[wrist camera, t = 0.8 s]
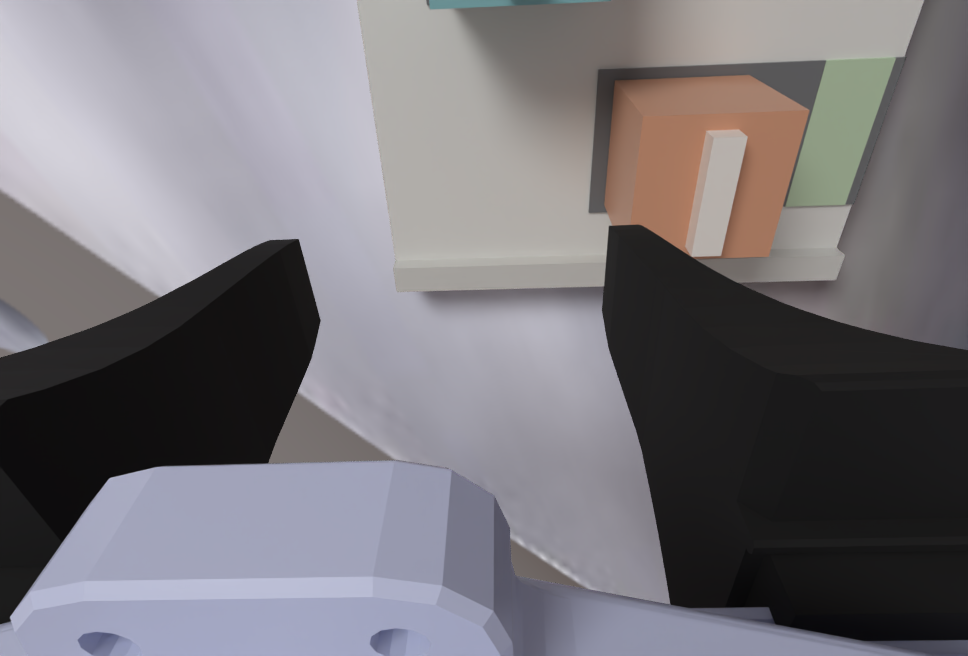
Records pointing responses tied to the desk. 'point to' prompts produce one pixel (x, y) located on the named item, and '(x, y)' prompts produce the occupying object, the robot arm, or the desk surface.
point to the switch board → (604, 124)
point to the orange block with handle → (702, 161)
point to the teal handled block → (496, 3)
